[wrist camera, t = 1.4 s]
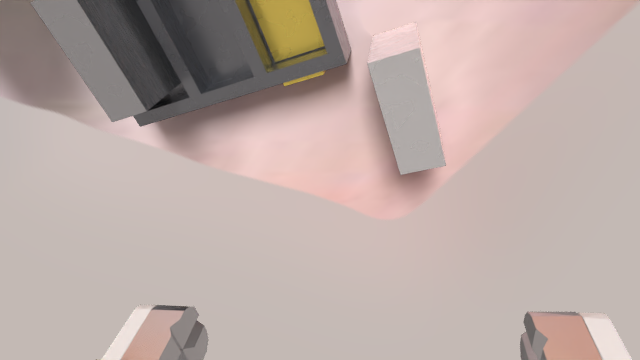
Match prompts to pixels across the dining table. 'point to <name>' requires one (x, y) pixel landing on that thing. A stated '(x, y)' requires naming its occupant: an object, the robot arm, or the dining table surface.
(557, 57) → the dining table surface
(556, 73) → the dining table surface
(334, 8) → the rack
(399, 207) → the dining table surface
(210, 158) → the dining table surface
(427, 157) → the grey rectangular block
